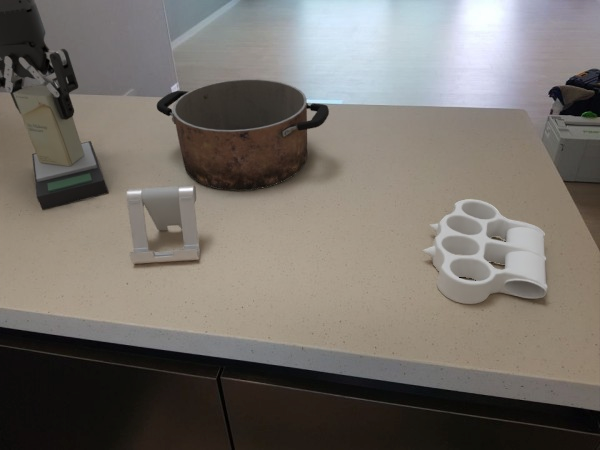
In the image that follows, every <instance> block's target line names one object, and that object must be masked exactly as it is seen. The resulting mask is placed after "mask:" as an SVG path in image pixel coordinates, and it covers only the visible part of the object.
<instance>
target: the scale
mask: <svg viewBox="0 0 600 450" xmlns="http://www.w3.org/2000/svg"><path fill="white" fill-rule="evenodd" d="M81 145H82V148H83V151H84V156H83V157H82V158H80V159H79V160H78V161H76V162H75V163H74V164H72V165H71V166H62V165H55V164H48V163H41V162H39V160H38V157H37V154H36V152H34V153H32V154H31V157H32V164H33V165H32V166H33V167H32V168H33V175H34V184H35V194H36V199H37V201H38V203H39V206H40V208H41V210H42V211H44V210H48V209H52V208H57V207H60V206H64V205H68V204H72V203H75V202H79V201H84V200H86V199H90V198H94V197H99V196H101V195H106V194H109V190H108V186H107V183H106V180H105V177H104V175H103V171H102V169H101V166H100V163H99V160H98V157H97V154H96V152H95V151H96V150H95V149H94V146H93V143H92V141H91V140H89V141H85V142H81Z"/></svg>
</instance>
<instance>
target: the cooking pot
mask: <svg viewBox="0 0 600 450" xmlns="http://www.w3.org/2000/svg"><path fill="white" fill-rule="evenodd" d="M172 104H173V107H172V108H170V106H171V105H172ZM308 109H309V110H310V111H311V112H315V114H314V115H313V116H312V118H311V119H310V120H308V111H307V110H308ZM156 110H157V111H158V112H160V113H162V114H163V115H165V116H167V117H171V121H172V123H173V125H175V128H176V129H175V130H176V132H177V134H176V135H177V138H178V143H179V148H180V153H181V157H182V162H183V167H184V169H185V171H186V173H187V174H188V175H189V176H190V177H192V179H194V180H195V181H197V182H198V183H200V184H203V185H204V186H207V187H211V188H214V189H218V190H224V191H251V189H252V190H257V188H259V189H263V188H262V187H264V188H268V187H271V186H270V185H272V186H274V184H275V185H277V184H280V183H282V182H285V181H286V180H289V179H290V178H291V176H292V177H293V176H294V175H295V173H296V174H298V172H299V171H300V170H301V169H302V168H303V166H304V165H305V164H306V162H307V159H308V130H311V129H315V128H319V127H320V126H322V125H323V124H324V123H325V122H326V120H327V119H328V117H329V114H330V109H329V106H328V105H326V104H323V103H313V102H312V103H311V104H310V105H309V102H308V101H307V97H306V94H305V93H304V92H303V91H302V90H301V89H300V88H297V87H295V86H293V85H290V84H288V83H284V82H281V81H276V80H271V79H260V78H246V79H245V78H244V79H230V80H224V81H223V80H222V81H217V82H213V83H210V84H206V85H202V86H200V87H197V88H194V89H192V90H190V91H185V90H175V91H171V92H170V93H168V94H166V95H165V96H163V97H162V98H161V99H159V100H158V101H157V103H156ZM284 180H285V181H284ZM281 181H282V182H281ZM279 182H280V183H279ZM276 183H277V184H276ZM267 186H268V187H267Z"/></svg>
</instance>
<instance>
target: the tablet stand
mask: <svg viewBox="0 0 600 450" xmlns="http://www.w3.org/2000/svg"><path fill="white" fill-rule="evenodd" d="M125 194H126V196H125V197H126V206H127V211H128V218H129V219H128V220H129V225H130V233H131V240H132V248H133V250H132V251H131V252H129V253H128V254H129V258H130V263H131V264H133V265H135V264H141V265H143V264H151V263H165V262H167V263H168V262H182V261H190V262H191V261H198V260H200V257H201V253H200V251H201V250H200V242H199V233H198V232H199V231H198V222H197V214H196V206H195V205H196V201H197V190H196V186H195V185H180V186H179V185H178V186H160V187H145V188H144V187H143V188H141V187H140V188H128V189H127V190H126V193H125ZM145 209H146V211H147V212H148V214H149V216H150V219H151V220H152V222H153V224H154V226H155V227H156V229H157V231H160V232H163V231H168V230H169V227H171V226H178V227H179V228H180V229H181V230H182V239H183V248H175V249H172V250H171V251H156V252H155V250H150V248H149V240H148V233H147V225H146V224H147V223H146V216H145Z"/></svg>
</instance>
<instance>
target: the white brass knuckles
mask: <svg viewBox="0 0 600 450" xmlns="http://www.w3.org/2000/svg"><path fill="white" fill-rule="evenodd" d="M428 226H429V227H430V228H431V229H432V230H433V231H434V233H436V234H435V237H434V240H433V245H432V246H430V247H427V248H425V249H422V250H421V252H422V253H424V254H426V255H428V256H429V257H431V261H432V266H433V265H434V266H435V267H436V268H435V267H434V266H433V267H434V268H435V269H436V271H437V272H438V271H439V272H438V277H437V283H436V286H437V288H438V291H440V293H441V294H442V295H443V296H444V297H446V298H447V299H449V300H451V301H453V302H456V303H459V304H463V305H475V304H476V305H477V304H480V303H482V302H484V301H486V300H487V299H488V298H489V296H490V295H492V294H498V293H501V294H506V295H510V296H513V297H519V298H523V299H543V298H545V296H546V295H547V291H548V284H547V282H546V281H547V279H546V277H547V276H546V261H547V257H546V255H545V240H544V239H545V236H546V233H545V231H543V229H541V228H540V227H539V226H537V225H534V224H532V223H528V222H525V221H521V220H515V219H510V218H507V217H505V216H504V215H502V214H501V213H500V211H499V210H498V209H497V207H496V206H494V205H492V204H491V203H490V202H487V201H485V200H480V199H476V198H475V199H474V198H468V199H467V198H466V199H461V200H459V201H457V202H455V203H454V205H453V209H452V212H451V213H448V214H445V215H444V216H443V217H442V219H441V220H439V222H438V223H430V224H428ZM462 233H463V234H462ZM492 236H500V237H501V238H502V239H505V240H506V242H504V241H502V240H500V239H495V238H490V237H492ZM452 253H453V254H452ZM455 254H462V255H455ZM488 261H491V262H496V263H500V264H505V266H504V268H503V269H499V268H496V267H494V265H492V263H489V262H488ZM459 277H466V278H459ZM469 278H472V279H469ZM473 279H474V280H473ZM475 280H476V281H475Z"/></svg>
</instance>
